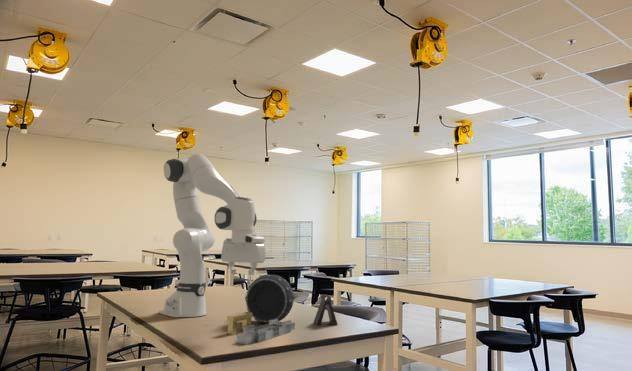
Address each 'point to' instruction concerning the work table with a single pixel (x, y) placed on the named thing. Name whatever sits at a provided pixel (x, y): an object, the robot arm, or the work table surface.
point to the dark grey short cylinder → (269, 298)
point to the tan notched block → (233, 320)
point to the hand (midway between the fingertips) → (242, 274)
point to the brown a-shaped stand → (322, 308)
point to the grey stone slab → (264, 331)
